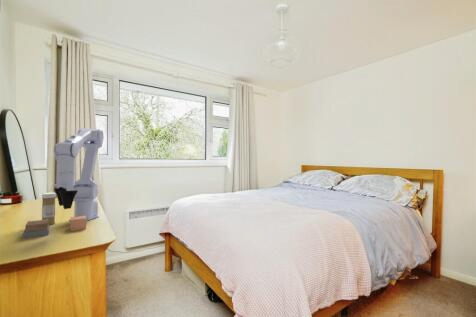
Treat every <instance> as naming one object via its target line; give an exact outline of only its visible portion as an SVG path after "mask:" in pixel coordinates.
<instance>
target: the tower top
mask: <svg viewBox="0 0 476 317" xmlns="http://www.w3.org/2000/svg"><path fill="white" fill-rule="evenodd" d="M24 226H25V227H24V230H25V232H32V231H40V230H47V228H48V219H47V220H42V219H37V220H28V221H27V222H26V224H25V225H24Z"/></svg>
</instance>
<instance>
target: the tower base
mask: <svg viewBox="0 0 476 317" xmlns="http://www.w3.org/2000/svg"><path fill="white" fill-rule="evenodd" d="M48 235H50V225H48V228H47V230H40V231H32V232H25V229H24V230H23V232H22V239H29V238H37V237H42V236H48Z"/></svg>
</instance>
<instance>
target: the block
mask: <svg viewBox="0 0 476 317" xmlns="http://www.w3.org/2000/svg"><path fill="white" fill-rule="evenodd" d="M70 219H71V221H70V232H73V231H74V232H75V231H79V230H86V229H87V221H86V216H77V217H74V216H71V217H70Z"/></svg>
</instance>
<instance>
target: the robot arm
mask: <svg viewBox="0 0 476 317" xmlns="http://www.w3.org/2000/svg"><path fill="white" fill-rule="evenodd" d="M103 142H104V131H103V129H101V128H83V127H80V128H79V129H78V130H77V135H76V134H71V135H70V137H68V138H67V139H66V140H64V141H63V142H61V141H58V142H57V143H56V144H55V145H54V147H53V154H54V156H55V158H54V159H55V162H56V183H53V184H52V187H54V188H53V190H54V193H56V197H57V202H58V205H59V206H61V207H62V206H63V210H67V209H68V210H69V209H71V208H72V206H73V202H74V209H73V210H74V212H73V217H77V216H86V222H87V221H91V220H93V219H96V218H100V215H99V203H98V201H97V200H96V198H97V197H98V194H99V192H98V190H99V189H98V188H99V186H98V183H97V182H96V181H94V180H93V179H94V178H93V177H94V172H95V166H96V162H97V156H98V151H99V149H100V148H102V146H103V144H104V143H103ZM82 147H83V148H84V149H86V150H85V153H84V158H83V159H84V160H83V163H82V169H81V173H80V178H79V179H78V180H76V179H75V177H76V175H75V174H76V157H78V154H79V151H80V149H82ZM75 180H76V181H75ZM55 187H57V188H55ZM68 221H70V222H71V218H70V219H68Z"/></svg>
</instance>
